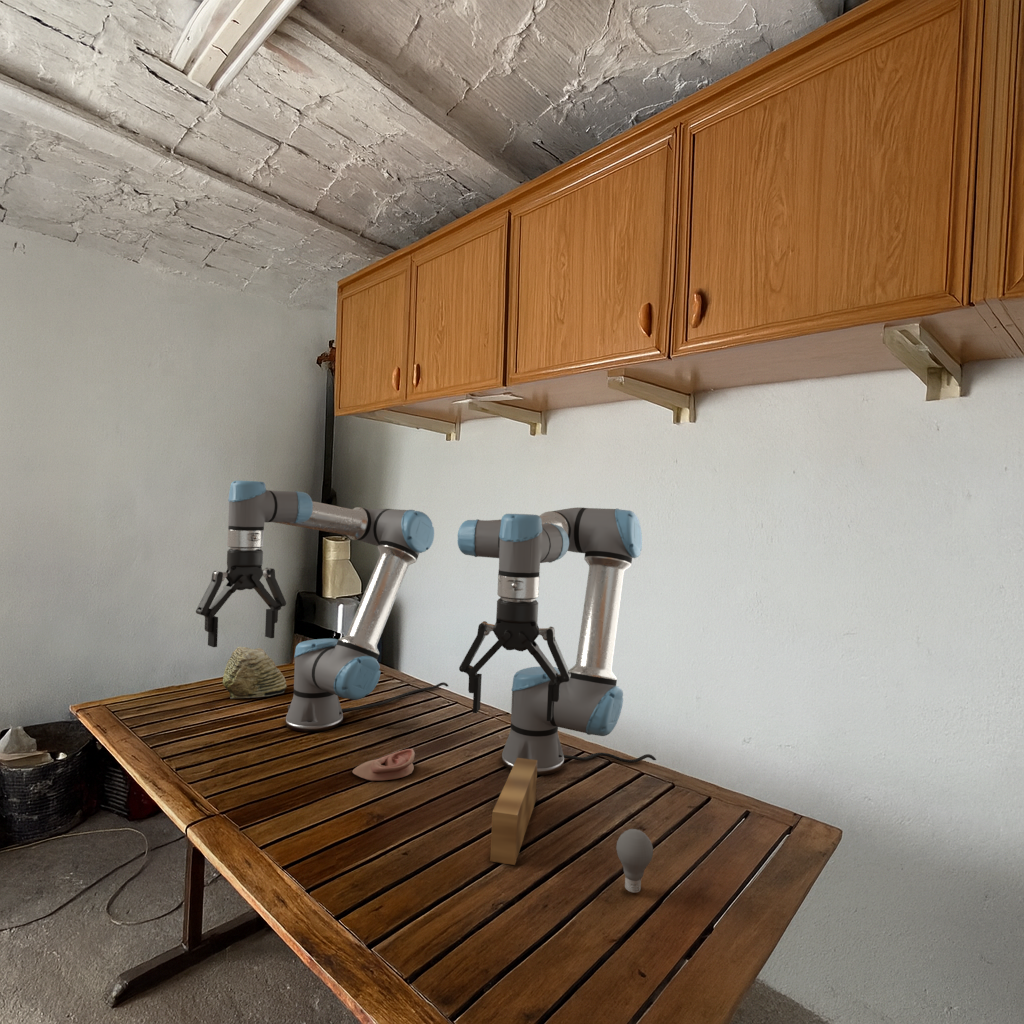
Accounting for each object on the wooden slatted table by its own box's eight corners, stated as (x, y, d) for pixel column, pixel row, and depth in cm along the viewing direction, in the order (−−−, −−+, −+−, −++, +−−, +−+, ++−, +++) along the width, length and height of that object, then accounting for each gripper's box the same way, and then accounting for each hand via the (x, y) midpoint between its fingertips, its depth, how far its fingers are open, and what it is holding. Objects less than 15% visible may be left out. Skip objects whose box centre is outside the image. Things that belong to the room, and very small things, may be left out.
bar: (515, 798, 137) (517, 757, 137) (535, 801, 136) (537, 760, 136) (490, 861, 113) (492, 811, 112) (514, 865, 112) (517, 815, 112)
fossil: (218, 695, 195) (220, 647, 195) (278, 685, 208) (279, 640, 207) (228, 703, 189) (230, 653, 188) (289, 692, 201) (290, 645, 201)
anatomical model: (346, 759, 143) (368, 741, 154) (346, 777, 143) (367, 757, 154) (402, 767, 140) (420, 748, 152) (401, 785, 140) (419, 764, 152)
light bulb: (610, 879, 108) (613, 822, 108) (644, 879, 109) (647, 822, 109) (619, 902, 102) (622, 840, 102) (655, 901, 103) (658, 840, 103)
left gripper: (197, 551, 132) (194, 653, 132) (303, 548, 151) (299, 636, 152) (181, 549, 136) (177, 646, 137) (285, 545, 156) (282, 631, 156)
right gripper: (445, 596, 114) (440, 714, 114) (585, 607, 109) (579, 729, 109) (457, 591, 121) (452, 701, 121) (588, 600, 116) (582, 715, 117)
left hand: (242, 641), depth 144 cm, fingers open, 13 cm apart
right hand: (512, 714), depth 115 cm, fingers open, 13 cm apart
